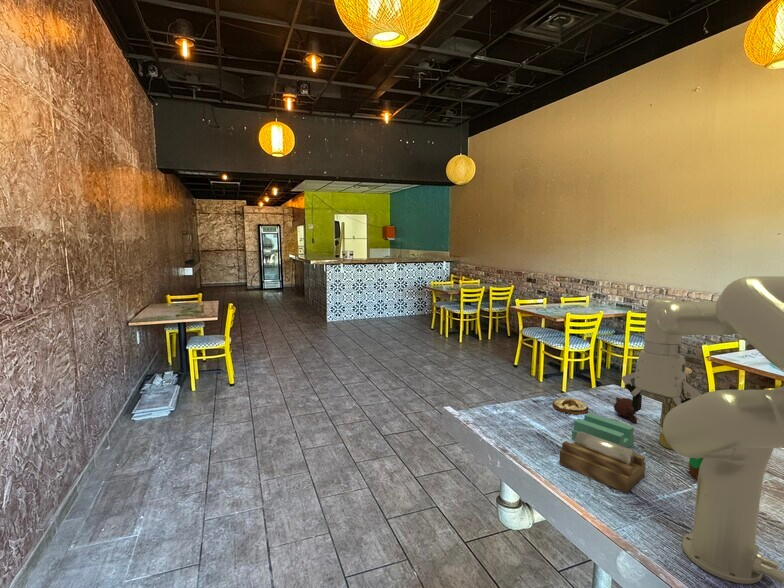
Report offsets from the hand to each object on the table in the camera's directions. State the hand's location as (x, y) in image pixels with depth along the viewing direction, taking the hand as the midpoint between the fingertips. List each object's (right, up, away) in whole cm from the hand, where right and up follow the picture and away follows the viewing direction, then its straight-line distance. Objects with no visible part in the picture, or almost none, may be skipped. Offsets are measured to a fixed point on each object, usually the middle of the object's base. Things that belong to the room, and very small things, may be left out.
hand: (656, 415), depth 102 cm
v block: (+1, -17, +28) cm, 33 cm away
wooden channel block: (-8, -19, +12) cm, 24 cm away
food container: (+17, -19, +10) cm, 28 cm away
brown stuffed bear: (+19, -14, +48) cm, 54 cm away
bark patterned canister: (+21, -17, +25) cm, 37 cm away
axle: (-8, -15, +11) cm, 20 cm away
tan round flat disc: (+2, -14, +55) cm, 57 cm away
